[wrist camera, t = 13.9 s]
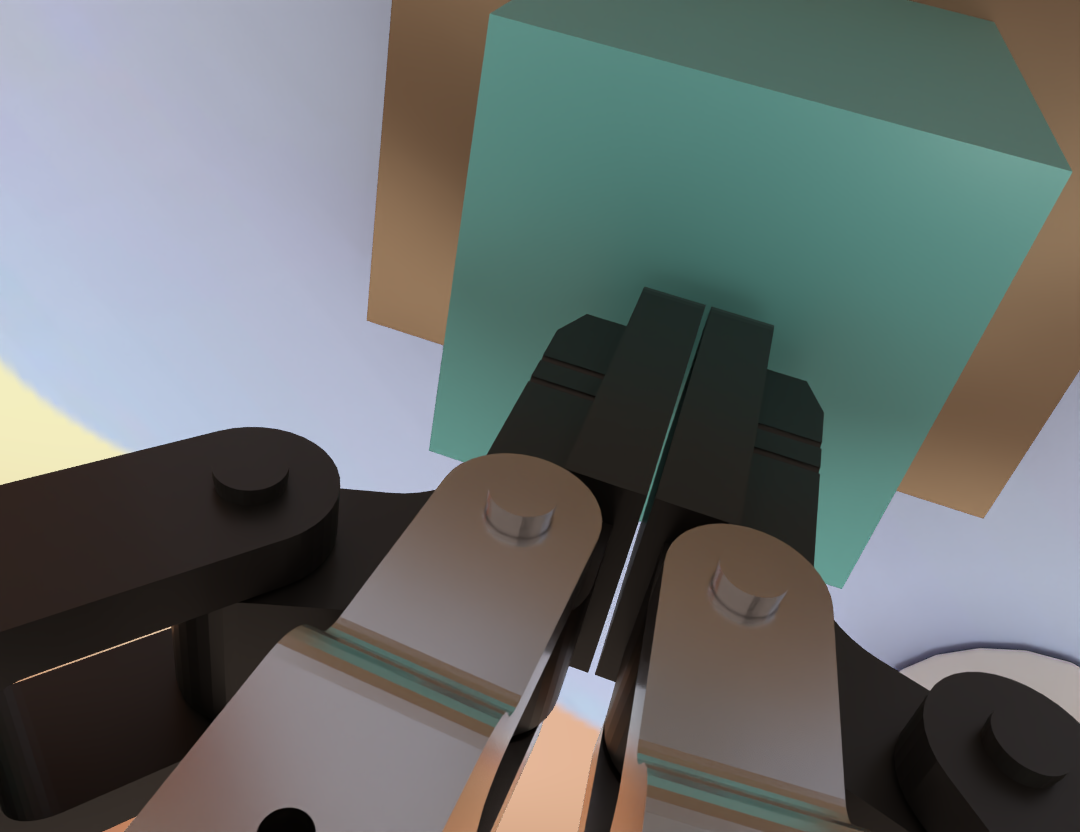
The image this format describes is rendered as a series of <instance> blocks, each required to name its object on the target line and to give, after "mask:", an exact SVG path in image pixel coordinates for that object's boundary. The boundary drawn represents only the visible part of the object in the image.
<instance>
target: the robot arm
mask: <svg viewBox="0 0 1080 832" xmlns="http://www.w3.org/2000/svg"><path fill="white" fill-rule="evenodd" d="M705 306H706V305H705V304H701V303H698V302H695V301H691V300H688V299H685V298H681V297H678V296H675V295H671V294H668V293H665V292H661V291H658V290H655V289H651V288H648V287H644V288H643V290H642V293H641V295H640V297H639V299H638V302H637V304H636V306H635V308H634V311H633V313H632V315H631V317H630V320H629V322H628V324H627V326H625V325H622V324H618V323H615V322H612V321H609V320H605V319H602V318H599V317H596V316H592V315H589V314H586V315H584V316H582V317H580V318H578V319H577V320H575V321H573V322H571V323H569V324H567V325H565V326H564V327H562V328H560V329H558V330H557V331H556V333H555V335H554V336H553V338H552V340H551V342H550V344H549V345H548V347H547V349H546V351H545V352H544V354H543V357H542V360H540V361H539V363H538V365H537V366H536V368H535V370H534V372H533V374H532V375H531V379H530V381H528V382H527V384H526V386H525V388H524V389H523V391H522V393H521V395H520V396H519V398H518V400H517V402H516V404H515V405H514V407H513V409H512V411H511V412H510V414H509V416H508V418H507V419H506V421H505V423H504V425H503V427H502V428H501V430H500V432H499V434H498V435H497V437H496V439H495V441H494V442H493V444H492V446H491V448H490V449H489V451H488V453H487V455H483V456H480V457H476V458H473V459H470V460H468V461H466V462H464V463H462V464H460V465H459V466H457V467H456V468H454V469H453V470H452V471H451V472H450V473H449V474H448V475H447V476H446V477H445V478H444V480H443V481H442V482H441V484H440V485H439V486H438V488H437V489H436V490H432V491H427V492H421V493H406V494H404V493H385V492H374V491H363V490H351V489H340V477H339V473H338V470H337V467H336V465H335V464H334V462H333V460H332V459H331V458H330V456H329V455H328V454H327V453H326V452H325V451H324V450H323V449H321V448H320V447H319V446H317V445H316V444H315V443H313V442H311V441H309V440H308V439H306V438H304V437H301V436H299V435H296V434H293V433H291V432H286V431H282V430H278V429H272V428H264V427H243V428H232V429H227V430H222V431H217V432H213V433H209V434H205V435H201V436H197V437H193V438H189V439H185V440H181V441H177V442H172V443H168V444H164V445H160V446H156V447H152V448H148V449H144V450H140V451H136V452H132V453H128V454H124V455H120V456H116V457H112V458H108V459H104V460H100V461H96V462H92V463H88V464H84V465H80V466H76V467H71V468H67V469H64V470H59V471H55V472H51V473H47V474H43V475H39V476H35V477H31V478H27V479H23V480H19V481H15V482H11V483H7V484H3V485H0V832H102V831H105V830H107V829H109V828H112V827H114V826H116V825H118V824H120V823H123V822H125V821H127V820H129V819H131V818H134V817H136V818H135V819H134V820H133V821H132V823H131V824H130V825H129V826H128V828H127V829H126V830H125V831H124V832H496V830H497V828H498V825H499V823H500V821H501V818H502V816H503V814H504V812H505V810H506V807H507V805H508V803H509V801H510V799H511V796H512V794H513V792H514V790H515V787H516V785H517V783H518V780H519V778H520V776H521V774H522V772H523V769H524V767H525V765H526V763H527V760H528V758H529V756H530V754H531V751H532V749H533V747H534V745H535V742H536V740H537V738H538V736H539V733H540V730H541V727H542V723H543V720H544V719H546V718H547V716H548V715H549V714H550V712H551V711H552V710H553V708H554V706H555V704H556V701H557V699H558V696H559V693H560V690H561V687H562V684H563V681H564V678H565V676H566V673H567V670H568V667H569V666H571V667H574V668H576V669H579V670H582V671H585V672H588V671H589V668H590V665H591V662H592V659H593V656H594V653H595V650H596V647H597V645H598V642H599V639H600V636H601V633H602V630H603V627H604V624H605V621H606V618H607V615H608V612H609V609H610V606H611V603H612V600H613V597H614V594H615V591H616V588H617V585H618V582H619V579H620V576H621V573H622V570H623V567H624V564H625V561H626V558H627V555H628V552H629V549H630V546H631V543H632V540H633V537H634V534H635V531H636V528H637V525H638V522H639V519H640V516H641V513H642V510H643V507H644V504H645V501H646V498H647V495H648V492H649V489H650V485H651V482H652V479H653V476H654V472H655V469H656V466H657V462H658V459H659V456H660V453H661V449H662V446H663V443H664V440H665V436H666V433H667V430H668V427H669V423H670V420H671V417H672V414H673V410H674V407H675V404H676V401H677V397H678V394H679V391H680V388H681V384H682V381H683V378H684V375H685V371H686V368H687V365H688V362H689V358H690V355H691V352H692V349H693V345H694V342H695V339H696V336H697V332H698V329H699V326H700V323H701V319H702V316H703V313H704V309H705ZM773 332H774V325H772V324H768V323H765V322H762V321H758V320H755V319H752V318H748V317H745V316H742V315H738V314H735V313H732V312H728V311H725V310H722V309H719V308H715V307H712V306H711V309H710V312H709V315H708V317H707V320H706V323H705V326H704V329H703V332H702V335H701V338H700V341H699V344H698V347H697V350H696V353H695V356H694V359H693V362H692V365H691V368H690V371H689V374H688V377H687V380H686V383H685V386H684V389H683V392H682V395H681V398H680V401H679V404H678V407H677V410H676V413H675V416H674V419H673V422H672V425H671V428H670V431H669V434H668V437H667V440H666V443H665V446H664V449H663V453H662V456H661V459H660V462H659V465H658V469H657V472H656V475H655V478H654V482H653V485H652V488H651V492H650V495H649V498H648V501H647V505H646V508H645V511H644V515H643V518H642V521H641V524H640V528H639V531H638V534H637V538H636V541H635V544H634V547H633V551H632V554H631V557H630V561H629V564H628V567H627V570H626V574H625V577H624V580H623V584H622V587H621V590H620V593H619V597H618V600H617V603H616V607H615V610H614V613H613V616H612V620H611V623H610V626H609V630H608V633H607V636H606V639H605V643H604V646H603V649H602V653H601V656H600V659H599V662H598V666H597V669H596V672H595V675H597V676H600V677H603V678H606V679H608V680H611V681H614V682H616V683H615V687H614V690H613V694H612V698H611V701H610V705H609V708H608V712H607V715H606V718H605V721H604V724H603V726H602V729H601V732H600V734H599V737H598V740H597V743H596V745H595V748H594V752H593V755H592V760H591V765H590V771H589V776H588V782H587V787H586V793H585V798H584V803H583V808H582V813H581V818H580V824H579V829H578V832H1080V723H1079V722H1078V721H1077V720H1076V719H1075V718H1074V717H1073V716H1071V715H1070V714H1069V713H1068V712H1067V711H1065V710H1064V709H1063V708H1062V707H1060V706H1059V705H1058V704H1056V703H1055V702H1053V701H1052V700H1050V699H1049V698H1048V697H1046V696H1045V695H1043V694H1041V693H1039V692H1038V691H1036V690H1034V689H1032V688H1030V687H1028V686H1026V685H1024V684H1022V683H1019V682H1017V681H1015V680H1012V679H1009V678H1006V677H1003V676H999V675H996V674H990V673H984V672H962V673H956V674H953V675H950V676H948V677H945V678H943V679H942V680H940V681H939V682H938V683H936V684H935V685H934V686H933V688H932V689H931V690H930V691H929V690H928V689H926V688H925V687H923V686H921V685H920V684H918V683H916V682H915V681H913V680H911V679H910V678H908V677H907V676H905V675H903V674H902V673H900V672H898V671H897V670H895V669H894V668H892V667H890V666H889V665H887V664H885V663H884V662H882V661H881V660H879V659H878V658H876V657H875V656H873V655H872V654H870V653H869V652H867V651H866V650H864V649H863V648H862V647H861V646H860V645H858V644H857V643H856V642H855V641H854V640H852V639H851V638H850V637H849V636H848V635H847V634H846V633H845V632H844V631H843V630H842V629H841V628H840V627H839V625H838V624H837V623H836V622H835V620H834V614H833V605H832V599H831V596H830V593H829V591H828V588H827V586H826V584H825V582H824V581H823V579H822V577H821V576H820V574H819V573H818V572H817V571H816V569H815V568H814V558H815V543H816V528H817V513H818V497H819V482H820V474H819V470H820V467H821V452H822V449H821V448H820V447H821V444H822V436H823V421H824V412H823V410H822V408H821V406H820V404H819V403H818V401H817V399H816V397H815V395H814V393H813V391H812V390H811V388H810V386H809V384H808V382H807V381H804V380H801V379H798V378H795V377H791V376H788V375H785V374H782V373H778V372H775V371H772V370H769V369H767V367H768V361H769V355H770V349H771V343H772V338H773ZM170 626H171V628H170V629H167V630H164V631H161V632H159V633H156V634H153V635H150V636H147V637H145V638H142V639H139V640H136V641H133V642H131V643H128V644H125V645H122V646H120V647H116V648H114V649H111V650H108V651H105V652H102V653H99V654H97V655H94V656H91V657H88V658H86V659H83V660H80V661H78V662H74V663H72V664H68V665H66V666H63V667H60V668H57V669H54V670H52V671H49V672H46V673H43V674H41V675H37V676H35V677H32V678H29V679H26V680H24V681H21V682H18V683H15V682H17V681H19V680H22V679H24V678H27V677H29V676H32V675H35V674H38V673H40V672H43V671H46V670H49V669H52V668H55V667H57V666H60V665H63V664H66V663H69V662H72V661H74V660H77V659H80V658H83V657H85V656H88V655H91V654H94V653H96V652H100V651H102V650H105V649H108V648H111V647H114V646H117V645H119V644H122V643H125V642H128V641H131V640H134V639H137V638H139V637H142V636H145V635H148V634H151V633H153V632H156V631H159V630H162V629H165V628H168V627H170ZM13 683H14V684H13Z"/></svg>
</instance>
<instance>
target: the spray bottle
mask: <svg viewBox="0 0 1080 832" xmlns="http://www.w3.org/2000/svg"><path fill="white" fill-rule="evenodd" d="M899 672H900V673H902V674H903V675H905V676H907V677H908V678H910V679H911V680H913V681H915V682H916V683H918V684H920V685H921V686H923V687H925V688H926V689H928V690H929V691H930V690H931V689H932V688H933V686H934V685H935V684H936V683H938V682H939V681H940V680H942V679H943V678H945V677H948V676H950V675H953V674H956V673H962V672H984V673H990V674H996V675H999V676H1003V677H1006V678H1009V679H1012V680H1015V681H1017V682H1019V683H1022V684H1024V685H1026V686H1028V687H1030V688H1032V689H1034V690H1036V691H1038V692H1039V693H1041V694H1043V695H1045V696H1046V697H1048V698H1049V699H1050V700H1052V701H1053V702H1055V703H1056V704H1058V705H1059V706H1060V707H1062V708H1063V709H1064V710H1065V711H1067V712H1068V713H1069V714H1070V715H1071V716H1073V717H1074V718H1075V719H1076V720H1077V721H1078V722H1079V723H1080V667H1079V666H1077V665H1075V664H1073V663H1071V662H1068V661H1064V660H1060V659H1056V658H1052V657H1049V656H1045V655H1041V654H1037V653H1033V652H1030V651H1026V650H1007V649H988V648H977V649H970V650H964V651H958V652H951V653H945V654H939V655H935V656H933V657H930V658H928V659H925V660H923V661H921V662H918V663H916V664H914V665H911V666H909V667H906V668H904V669H902V670H901V671H899Z"/></svg>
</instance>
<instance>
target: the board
mask: <svg viewBox="0 0 1080 832" xmlns="http://www.w3.org/2000/svg"><path fill="white" fill-rule="evenodd" d="M509 1H511V0H392V8H391V21H390V33H389V46H388V59H387V71H386V84H385V97H384V109H383V122H382V135H381V147H380V160H379V172H378V185H377V198H376V210H375V223H374V236H373V248H372V261H371V274H370V286H369V299H368V312H367V321H370V322H373V323H376V324H379V325H382V326H385V327H388V328H392V329H395V330H398V331H401V332H404V333H407V334H410V335H413V336H417V337H420V338H423V339H426V340H429V341H432V342H435V343H438V344H441V345H444V339H445V332H446V325H447V317H448V310H449V303H450V296H451V289H452V281H453V274H454V267H455V260H456V253H457V245H458V238H459V231H460V224H461V217H462V209H463V202H464V195H465V188H466V181H467V173H468V166H469V159H470V152H471V145H472V137H473V130H474V123H475V116H476V109H477V101H478V94H479V87H480V80H481V72H482V65H483V58H484V51H485V44H486V36H487V29H488V22H489V15H490V13H492V12H493V11H495V10H496V9H498V8H500V7H501V6H503V5H505V4H506V3H508V2H509ZM909 1H913V2H917V3H921V4H925V5H929V6H933V7H937V8H941V9H945V10H949V11H952V12H956V13H960V14H964V15H968V16H972V17H976V18H980V19H984V20H988V21H992V22H994V23H995V24H996V26H997V28H998V30H999V32H1000V34H1001V36H1002V38H1003V40H1004V42H1005V44H1006V45H1007V47H1008V49H1009V51H1010V53H1011V55H1012V57H1013V59H1014V61H1015V63H1016V65H1017V66H1018V68H1019V70H1020V72H1021V74H1022V76H1023V78H1024V80H1025V82H1026V84H1027V86H1028V87H1029V89H1030V91H1031V93H1032V95H1033V97H1034V99H1035V101H1036V103H1037V105H1038V107H1039V108H1040V110H1041V112H1042V114H1043V116H1044V118H1045V120H1046V122H1047V124H1048V126H1049V128H1050V129H1051V131H1052V133H1053V135H1054V137H1055V139H1056V141H1057V143H1058V145H1059V147H1060V149H1061V150H1062V152H1063V154H1064V156H1065V158H1066V160H1067V162H1068V164H1069V166H1070V168H1071V170H1072V171H1073V172H1072V174H1071V176H1070V177H1069V179H1068V181H1067V183H1066V185H1065V186H1064V188H1063V190H1062V192H1061V194H1060V196H1059V197H1058V199H1057V201H1056V203H1055V205H1054V206H1053V208H1052V210H1051V212H1050V214H1049V215H1048V217H1047V219H1046V221H1045V223H1044V224H1043V226H1042V228H1041V230H1040V232H1039V233H1038V235H1037V237H1036V239H1035V241H1034V243H1033V244H1032V246H1031V248H1030V250H1029V252H1028V253H1027V255H1026V257H1025V259H1024V261H1023V262H1022V264H1021V266H1020V268H1019V270H1018V271H1017V273H1016V275H1015V277H1014V279H1013V280H1012V282H1011V284H1010V286H1009V288H1008V290H1007V291H1006V293H1005V295H1004V297H1003V299H1002V300H1001V302H1000V304H999V306H998V308H997V309H996V311H995V313H994V315H993V317H992V318H991V320H990V322H989V324H988V326H987V327H986V329H985V331H984V333H983V335H982V336H981V338H980V340H979V342H978V344H977V346H976V347H975V349H974V351H973V353H972V355H971V356H970V358H969V360H968V362H967V364H966V365H965V367H964V369H963V371H962V373H961V374H960V376H959V378H958V380H957V382H956V383H955V385H954V387H953V389H952V391H951V393H950V394H949V396H948V398H947V400H946V402H945V403H944V405H943V407H942V409H941V411H940V412H939V414H938V416H937V418H936V420H935V421H934V423H933V425H932V427H931V429H930V430H929V432H928V434H927V436H926V438H925V440H924V441H923V443H922V445H921V447H920V449H919V450H918V452H917V454H916V456H915V458H914V459H913V461H912V463H911V465H910V467H909V468H908V470H907V472H906V474H905V476H904V477H903V479H902V481H901V483H900V485H899V487H898V488H897V490H896V491H899V492H902V493H905V494H908V495H911V496H915V497H918V498H921V499H924V500H927V501H930V502H933V503H936V504H939V505H943V506H946V507H949V508H952V509H955V510H958V511H961V512H964V513H967V514H971V515H974V516H977V517H980V518H984V517H985V515H986V514H987V512H988V511H989V509H990V508H991V506H992V505H993V503H994V502H995V500H996V498H997V497H998V495H999V494H1000V492H1001V491H1002V489H1003V488H1004V486H1005V485H1006V483H1007V481H1008V480H1009V478H1010V477H1011V475H1012V474H1013V472H1014V471H1015V469H1016V468H1017V466H1018V464H1019V463H1020V461H1021V460H1022V458H1023V457H1024V455H1025V454H1026V452H1027V451H1028V449H1029V447H1030V446H1031V444H1032V443H1033V441H1034V440H1035V438H1036V437H1037V435H1038V434H1039V432H1040V431H1041V429H1042V427H1043V426H1044V424H1045V423H1046V421H1047V420H1048V418H1049V417H1050V415H1051V414H1052V412H1053V410H1054V409H1055V407H1056V406H1057V404H1058V403H1059V401H1060V400H1061V398H1062V397H1063V395H1064V393H1065V392H1066V390H1067V389H1068V387H1069V386H1070V384H1071V383H1072V381H1073V380H1074V378H1075V376H1076V375H1077V373H1078V372H1079V370H1080V0H909Z"/></svg>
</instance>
